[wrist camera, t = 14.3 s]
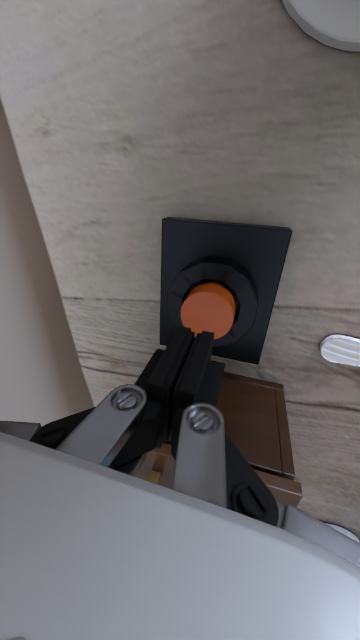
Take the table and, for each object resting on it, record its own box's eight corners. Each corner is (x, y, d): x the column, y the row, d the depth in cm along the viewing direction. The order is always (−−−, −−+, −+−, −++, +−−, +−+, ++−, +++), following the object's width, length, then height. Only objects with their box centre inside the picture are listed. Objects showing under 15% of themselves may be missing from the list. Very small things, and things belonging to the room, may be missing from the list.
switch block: (168, 216, 19) (151, 221, 16) (290, 227, 17) (296, 234, 14) (164, 336, 24) (151, 356, 21) (258, 355, 22) (258, 380, 19)
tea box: (156, 357, 26) (115, 424, 18) (283, 384, 23) (295, 477, 16) (155, 446, 33) (125, 522, 25) (252, 475, 30) (251, 570, 22)
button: (189, 278, 18) (181, 287, 16) (239, 286, 17) (237, 296, 15) (185, 322, 19) (179, 335, 18) (231, 331, 19) (229, 344, 17)
